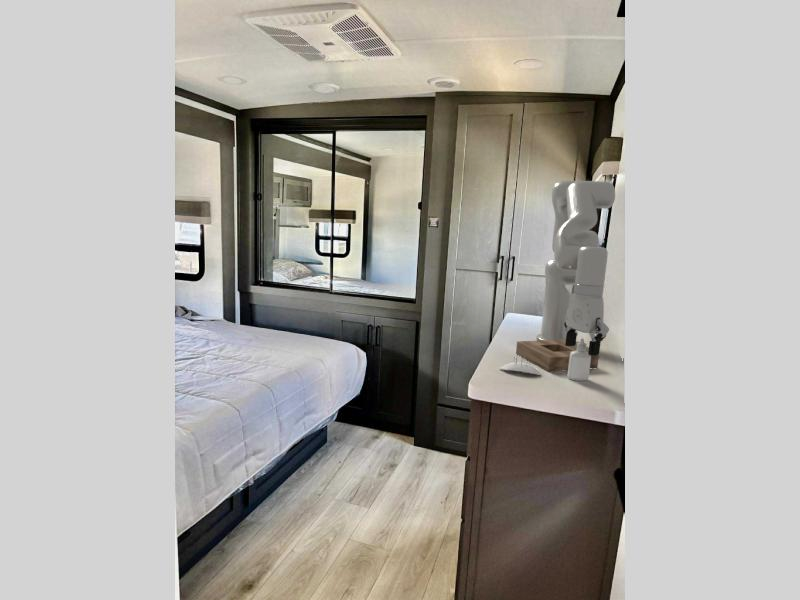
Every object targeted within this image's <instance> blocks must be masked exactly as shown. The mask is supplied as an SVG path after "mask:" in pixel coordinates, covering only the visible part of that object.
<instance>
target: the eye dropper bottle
mask: <svg viewBox="0 0 800 600" xmlns="http://www.w3.org/2000/svg"><path fill="white" fill-rule="evenodd" d="M576 343H577V344H576V346H577V350H576V351H573V352H571V353H570V358H569V366H568V371H567V378H568V380H572V381H577V382H580V381H581V382H583V381H585V382H586V381H588V380H589V377H590V370H591V369H590V362H591V356H590V355H589V354H588V352H586V350H587V343H585V339H584V338H580V341H579V342H576Z"/></svg>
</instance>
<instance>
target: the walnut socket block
mask: <svg viewBox="0 0 800 600" xmlns="http://www.w3.org/2000/svg"><path fill="white" fill-rule="evenodd" d="M565 343H566V341H564V340H542V341H539V340H523V341H522V340H519V341H516V350H515V355H516V354H517V355H516V356H518V355H519V356H518V357H520V356H521V357H520V358H521V359H524V360H525V359H526V360H525V361H527V358H528V361H527V362H529V361H530V363H531V364H533V365H535V366H536V365H537V367H538V366H539V368H540V369H541V370H544V371H546V372H548V373H550V372H551V371H554V372H563V371H562V370H568V366H569V358H570V353H571V352H573V351H576V350H577V344H576V345H575V346H566V345H565ZM588 351H589V349H586V352H588ZM522 355H523V357H522ZM599 359H600V354H599V355H591V362H590V368H597V369H598V367H599V366H598V365H599ZM551 373H552V372H551Z"/></svg>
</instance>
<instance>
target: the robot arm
mask: <svg viewBox="0 0 800 600" xmlns="http://www.w3.org/2000/svg"><path fill="white" fill-rule="evenodd" d="M615 201H616V189H615V186H614V184H613V183H611V182H610V181H604V180H602V181H600V180H561V181H558V182H556V183H555V184H553V186H552V191H551V202H552V206H553V211H554V224H553V225H554V226H553V232H552V233H553V234H552V242H551V245H552V246H551V247H552V251H553V253H554V254H553V255H554V256H553V257H554V258H552V259H549V260H548V261H547V263H546V264H545V267H544V275H545V276H544V277H545V278H544V279H545V280H544V281H545V287H544V289H545V290H544V302H543V310H542V319H541V321H542V322H541V330H540V333H539V334H537V335H536V336H535V340H536V341H542V340H564V341H566V343H565V345H566V346H575V345H576V346H577V344H576V343H577V338H578V337H577V336H579V332H581V333H584V334H589V337H590V340H589V343H588V344H589V345H588V354H589V355H590V356H591V355H599V356H600V350H601V342H603V341H604V339H606V337H607V334H608V332H609V330H610V327H608V326H607V324H605V323H604V315H605V314H604V313H605V311H604V310H605V309H604V308H605V307H604V306H605V305H604V304H605V303H604V295H603V294H604V288H605V287H604V286H605V279H606V272H607V264H608V254H609V252H608V249H607V248H605V247H603V246H600V239H599V234H598V233H597V232H596V231H593V230H592V229H593V228H594V227H595V226H596V225H597V222H598V212H597V209H603V210H604V209H610V208H612V207H613V206H614V203H615ZM566 286H573V287H574V288H573V293H572V294H571V293H570V291H569V290H568V289H567V287H566Z"/></svg>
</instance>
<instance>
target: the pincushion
mask: <svg viewBox="0 0 800 600" xmlns="http://www.w3.org/2000/svg"><path fill="white" fill-rule="evenodd" d="M522 357H523V355H522ZM522 357H521V358H522ZM515 360H516V361H515ZM527 362H529V363H527ZM530 363H531V362H530V361H528V358H527V360H526V363H525V362H523V361H521V362H519V361H518V357H515V356H514V359H513V362H510V363H509V362H508V363H507V364H504V365H503V366H501V367H499V370H505V371H512V372H513V371H514V374H516V372H519V373H520V374H521V373H525V374H528V373H529V374H533V375H540V376H542V373H541V371H540V370H539V369H538V368H536V367H535V366H533V365H531V364H530Z"/></svg>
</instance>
